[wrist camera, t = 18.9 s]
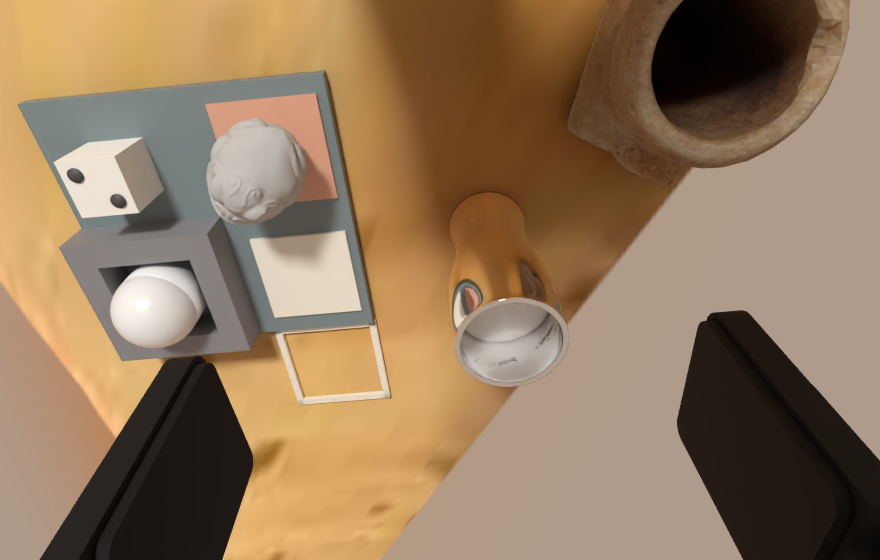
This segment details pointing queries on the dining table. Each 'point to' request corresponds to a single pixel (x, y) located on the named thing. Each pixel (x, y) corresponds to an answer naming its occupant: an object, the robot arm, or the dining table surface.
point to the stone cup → (704, 79)
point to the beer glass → (502, 296)
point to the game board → (209, 212)
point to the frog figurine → (255, 172)
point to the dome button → (158, 304)
